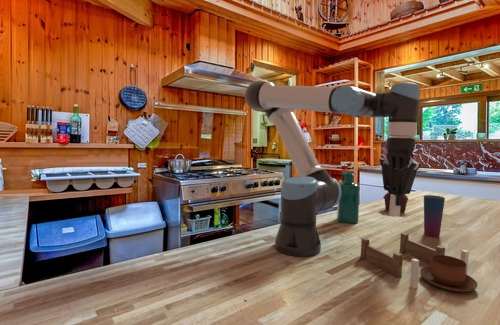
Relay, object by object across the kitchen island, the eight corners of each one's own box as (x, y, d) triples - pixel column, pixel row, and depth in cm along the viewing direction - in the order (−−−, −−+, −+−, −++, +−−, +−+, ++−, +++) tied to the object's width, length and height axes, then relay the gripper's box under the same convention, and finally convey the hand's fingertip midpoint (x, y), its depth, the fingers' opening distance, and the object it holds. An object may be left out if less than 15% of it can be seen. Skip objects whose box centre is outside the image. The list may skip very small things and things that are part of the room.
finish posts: (414, 288, 70) (415, 261, 69) (409, 286, 71) (411, 259, 70) (467, 276, 76) (468, 251, 76) (462, 274, 78) (464, 249, 77)
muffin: (384, 212, 145) (385, 192, 144) (381, 207, 155) (382, 189, 154) (410, 214, 141) (411, 194, 140) (405, 209, 152) (406, 190, 151)
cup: (422, 236, 109) (424, 197, 108) (420, 231, 115) (423, 194, 114) (443, 239, 106) (446, 199, 104) (441, 234, 112) (443, 196, 110)
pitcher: (358, 224, 124) (361, 173, 122) (338, 222, 125) (340, 173, 124) (355, 218, 133) (357, 171, 131) (336, 216, 135) (338, 170, 133)
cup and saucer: (419, 269, 81) (421, 248, 81) (473, 280, 75) (474, 257, 74) (419, 287, 71) (420, 263, 70) (480, 302, 65) (482, 276, 64)
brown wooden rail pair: (396, 277, 76) (398, 255, 75) (360, 257, 88) (361, 238, 88) (443, 267, 82) (445, 247, 81) (403, 250, 94) (404, 232, 94)
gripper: (430, 138, 79) (422, 220, 82) (392, 137, 91) (386, 209, 94) (410, 137, 77) (402, 222, 79) (374, 136, 89) (368, 210, 91)
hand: (394, 215), depth 86 cm, fingers closed
